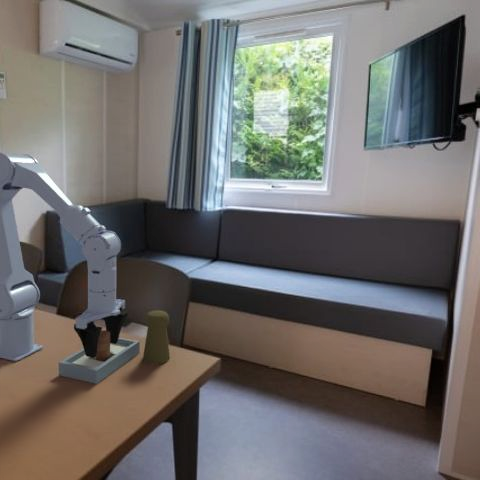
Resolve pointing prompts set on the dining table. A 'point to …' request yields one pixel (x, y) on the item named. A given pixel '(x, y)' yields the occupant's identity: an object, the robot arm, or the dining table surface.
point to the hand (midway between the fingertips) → (102, 349)
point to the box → (98, 362)
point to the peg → (103, 346)
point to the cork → (156, 338)
